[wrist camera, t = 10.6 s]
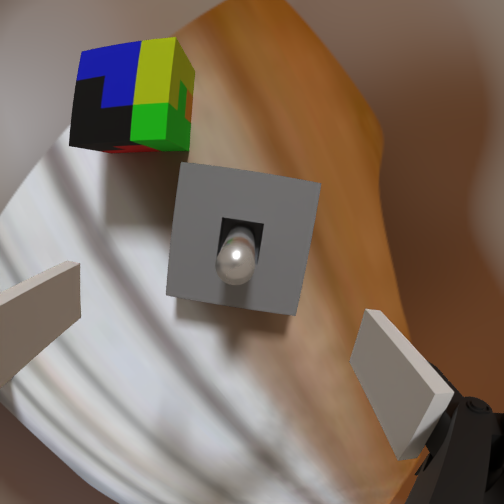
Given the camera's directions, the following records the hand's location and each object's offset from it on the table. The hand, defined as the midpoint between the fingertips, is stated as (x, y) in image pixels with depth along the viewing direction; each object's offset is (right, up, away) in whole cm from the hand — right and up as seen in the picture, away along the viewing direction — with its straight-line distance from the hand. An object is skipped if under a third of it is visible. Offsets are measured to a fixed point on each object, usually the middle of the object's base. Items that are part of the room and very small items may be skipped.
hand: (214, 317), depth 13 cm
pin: (0, +5, +22) cm, 22 cm away
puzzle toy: (-10, +20, +21) cm, 30 cm away
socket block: (0, +5, +23) cm, 24 cm away
